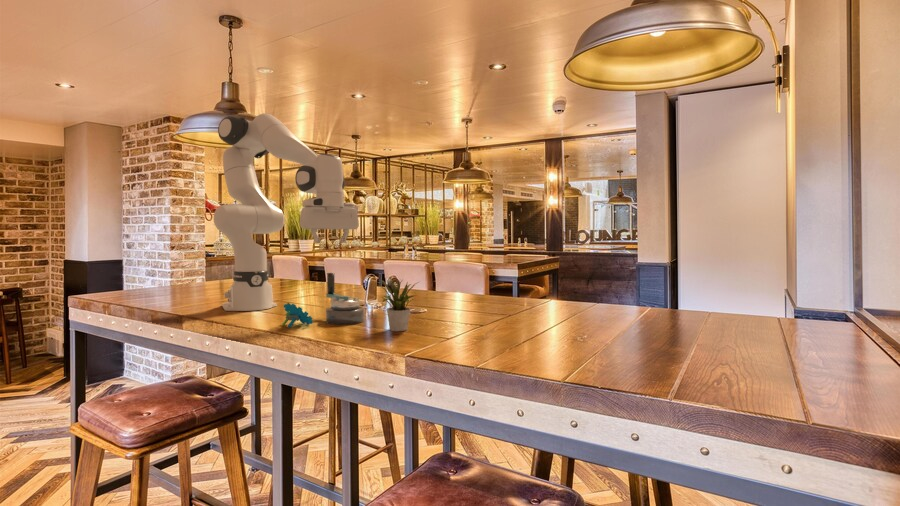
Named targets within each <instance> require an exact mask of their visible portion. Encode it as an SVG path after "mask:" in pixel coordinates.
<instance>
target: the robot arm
mask: <svg viewBox="0 0 900 506" xmlns="http://www.w3.org/2000/svg"><path fill="white" fill-rule="evenodd" d="M217 133H218V137H219V139H220V140H221V141H223V143H226V144H227V145H229V146H230V147H228V148H226V149H225V150H224V151H223V154H222V166H223V167H222V168H223V174H224V179H225V183H226V187H227V192H228V194H229V196H230V197H231V198H232V199H234V200H236V201H237V202H239V203H229V204H224V205H219V206H218V207H217V208H216V209H215V211H214V213H213V223H214V225H215V228H216V229H217V230H218V231H219V232H221V233H222V234H223V235H224V236H225V237H226V238H227V240H228V241H229V242H230V244H231V246H232V250H233V257H234V271H233V274H232V276H233V277H232V279H233V282H232V284H231V285H230V288H229V289H228V290H227V291H225V292H224V298H225V299H227V302H222V304H221V306H222V308H223V309H224V311H229V312H230V311H231V312H232V311H233V312H234V311H237V312H239V311H240V312H244V311H245V312H247V311H249V312H250V311H261V310H268V309H271V308H273V307H277V306H278V305H277V304H278V303H276V302H274V295H273V285H272V284H271V283H270V282H269V281H268V280H269V270H268V258H267V256H268V254H267V253H268V252H267V250H266V248H265V247H264V246H263V245H261V244H259V243H256V241H255V239H254V238H253V235H270V234H273V233H277V232H280V231H281V230H282V229H283V228H284V225H285V222H286V221H285V220H286V218H285V214H284V213H283V211H282V210H281V208H280V207H278V206H276V205H274V204H273V203H272V202H271V201H270V200H269V199H268V198H267V197H266V196H265V194H264V192H263V191H262V189H261V188H260V184H259V182H258V177H257V173H256V169H255V167H254V158H255V159H261V158H263V156H266V155H268V154H270V155H272V156H274V157H275V158H277V159H280V160H285V161H288V162H293V163H296V164H299V165H301V166H299V168H298V169H297V171H296V173H295V179H294V180H295V185H296V187H297V189H298V190H299V191H300V192H303V193H305V194H306V193H307V194H313V195H316V196H313V197H310V198H307V199H304V200H302V202H301V203H302V206H303V207H302V208H301V211H300V215H299V216H300V217H299V227H300V228H301V229H303V230H310V234H311V236H312V237H313V242H314V244H321V242H322V241H321V240H322V238H321V237H319V236H318V234H317V233H318V230H342V233H343V235H342V237H340V238H339V243H341V244H343V243H345V244H346V243H347V237H348V236H349V234H350V230H357V229H358V228H360V226H359V224H360V223H359V215H358V213H359V209H358V206H357V205H356V204H355V203H354V202H353V203H352V202H344V201H345V200H344V189H345V186H346V179H345V176H344V166H343V161H342V158H341V157H339V156H338V155H337V154H336V155H335V154H330V153H319V154H318V153H316V152H315V151H314V150H313V149H312V148H310V147H309V146H308V145H306V143H304V142H303V141H302V140H300V138H298V137H297V136H296V135H295V134H294V133H293V132H292V131H291V130H290V129H289V128H288V127H287V126H286V125H285V124H284V123H283V122H282V121H281V120H280V119H278V118H277V117H276V116H274V115H272V114H270V113H260V114H258V115H256V116H255V118H254V119H253V120H248V119H246V118H245V117H243V116H235V115H233V116H232V115H227V116H225V117H224V118H222V120H221V121H220V122H219V124H218V128H217Z"/></svg>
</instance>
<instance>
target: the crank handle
mask: <svg viewBox="0 0 900 506" xmlns="http://www.w3.org/2000/svg"><path fill="white" fill-rule="evenodd" d="M326 276H327V277H326V278H327V279H326V281H327V283H326V284H327V286H326V288H327V289H326V291H327V292H326V298H329V299H331V300H330V308H331V309H333V310H354V309H358V308H359V306H360V298H359V297H353V298H352V296H351V295H341V294H338V293H335V291H336V290H335V289H336V288H335V285H336V283H335V272H328V273H326Z"/></svg>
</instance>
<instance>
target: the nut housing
mask: <svg viewBox="0 0 900 506" xmlns="http://www.w3.org/2000/svg"><path fill="white" fill-rule="evenodd" d="M325 319H326V321H325V322H326V323H327V324H329V325H335V326H337V325H339V326H340V325H341V326H347V325H356V324H361V323H363V322H365V308H364V307H363V305H359V308H358V309H354V310H333V309H331V307H328V308H326V309H325Z"/></svg>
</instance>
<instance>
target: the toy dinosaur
mask: <svg viewBox="0 0 900 506" xmlns="http://www.w3.org/2000/svg"><path fill="white" fill-rule="evenodd" d="M283 308H284V311H285V312H286V313H285V314H284V315H285V320H284V321H283V322H282V326H285V325H286V324H287V323H288V321H290V322H289V324H288V325H287V328H291V327H292V326H293V325H294V324H295V322H296V321H300V322H301V324H304V325H305V324H306V325H312V324H313V323H314V320H313V319H314V318H313V317H312V316H311V315H309V312H307V311H303V308H302V307H300V306H298V307H297V306H296V304H295V303H289V302H286V303H285V304H284V305H283Z"/></svg>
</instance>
